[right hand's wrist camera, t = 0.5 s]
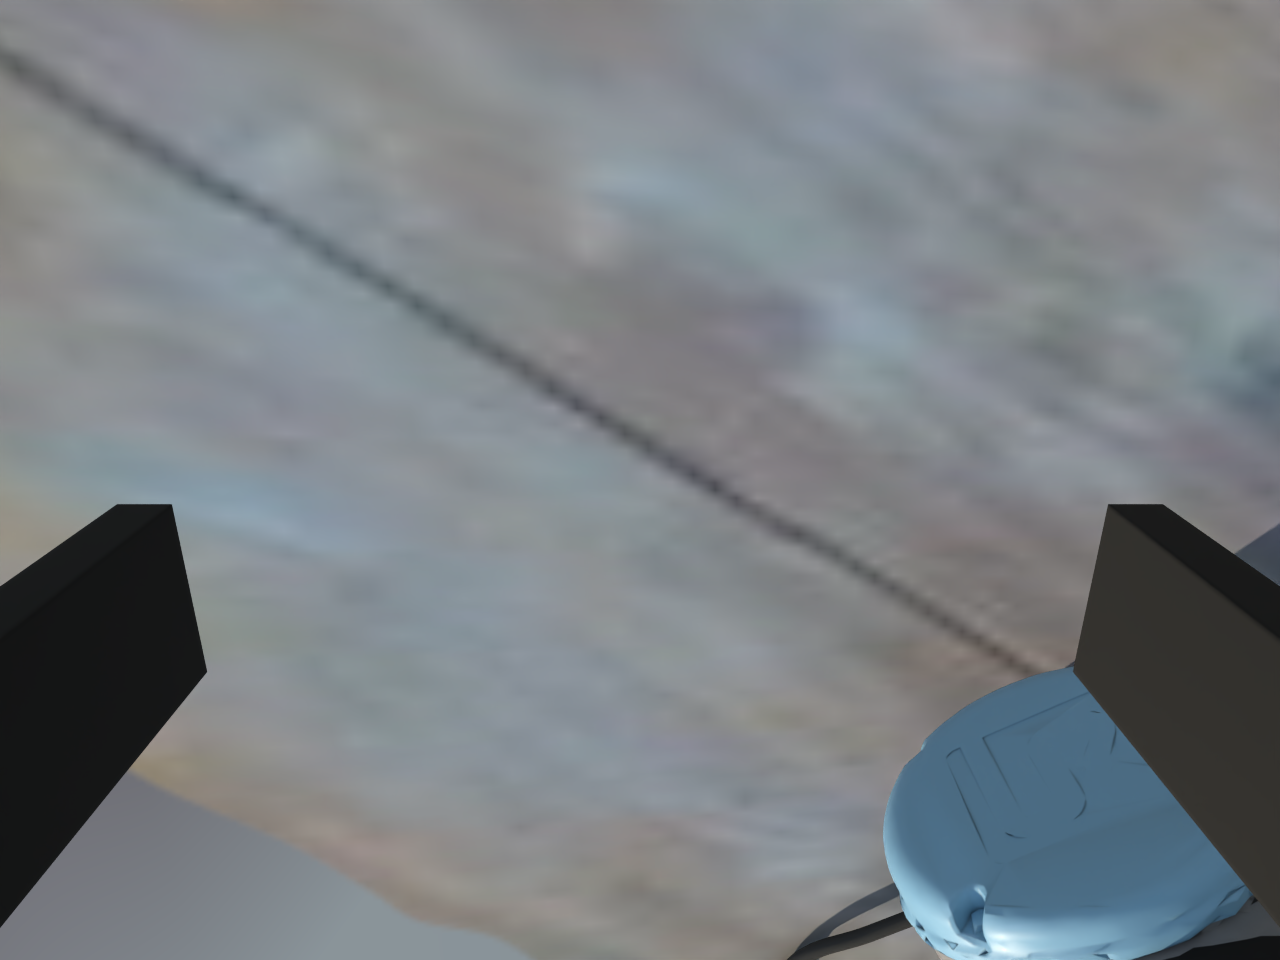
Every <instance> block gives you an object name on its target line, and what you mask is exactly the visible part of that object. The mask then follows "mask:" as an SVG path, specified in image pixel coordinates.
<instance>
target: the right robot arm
mask: <svg viewBox="0 0 1280 960" xmlns="http://www.w3.org/2000/svg"><path fill="white" fill-rule="evenodd" d="M206 673H207V669H206V664H205V659H204V655H203V650H202V645H201V640H200V636H199V631H198V626H197V621H196V617H195V612H194V607H193V603H192V598H191V593H190V588H189V584H188V579H187V574H186V569H185V565H184V560H183V555H182V551H181V546H180V541H179V536H178V532H177V527H176V522H175V517H174V513H173V508H172V504H117V505H115V506H114V507H113V508H111V509H110V510H108V511H107V512H105V513H104V514H103V515H101V516H100V517H98V518H97V519H96V520H94V521H93V522H91V523H90V524H88V525H87V526H86V527H84V528H83V529H81V530H80V531H78V532H77V533H76V534H74V535H73V536H71V537H70V538H69V539H67V540H66V541H64V542H63V543H61V544H60V545H59V546H57V547H56V548H54V549H53V550H51V551H50V552H49V553H47V554H46V555H44V556H43V557H42V558H40V559H39V560H37V561H36V562H34V563H33V564H32V565H30V566H29V567H27V568H26V569H24V570H23V571H22V572H20V573H19V574H17V575H16V576H14V577H13V578H12V579H10V580H9V581H7V582H6V583H5V584H3V585H2V586H0V927H1V926H2V925H3V924H4V922H5V921H6V920H7V919H8V917H9V916H10V915H11V914H12V913H13V911H14V910H15V909H16V908H17V906H18V905H19V904H20V903H21V901H22V900H23V899H24V898H25V896H26V895H27V894H28V893H29V891H30V890H31V889H32V888H33V886H34V885H35V884H36V883H37V882H38V880H39V879H40V878H41V877H42V875H43V874H44V873H45V872H46V870H47V869H48V868H49V867H50V866H51V864H52V863H53V862H54V861H55V859H56V858H57V857H58V856H59V854H60V853H61V852H62V851H63V849H64V848H65V847H66V846H67V844H68V843H69V842H70V841H71V840H72V838H73V837H74V836H75V835H76V833H77V832H78V831H79V830H80V828H81V827H82V826H83V825H84V823H85V822H86V821H87V820H88V819H89V817H90V816H91V815H92V814H93V812H94V811H95V810H96V809H97V807H98V806H99V805H100V804H101V802H102V801H103V800H104V799H105V797H106V796H107V795H108V794H109V793H110V791H111V790H112V789H113V788H114V786H115V785H116V784H117V783H118V781H119V780H120V779H121V778H122V776H123V775H124V774H125V773H126V772H127V770H128V769H129V768H130V767H131V765H132V764H133V763H134V762H135V760H136V759H137V758H138V757H139V755H140V754H141V753H142V752H143V751H144V749H145V748H146V747H147V746H148V744H149V743H150V742H151V741H152V739H153V738H154V737H155V736H156V734H157V733H158V732H159V731H160V730H161V728H162V727H163V726H164V725H165V723H166V722H167V721H168V720H169V718H170V717H171V716H172V715H173V713H174V712H175V711H176V710H177V708H178V707H179V706H180V705H181V704H182V702H183V701H184V700H185V699H186V697H187V696H188V695H189V694H190V692H191V691H192V690H193V689H194V687H195V686H196V685H197V684H198V683H199V681H200V680H201V679H202V678H203V676H204V675H205V674H206ZM1073 673H1074V674H1075V675H1076V676H1077V678H1078V679H1079V680H1080V681H1081V683H1082V684H1083V685H1084V686H1085V687H1086V689H1087V690H1088V691H1089V692H1090V694H1091V695H1092V696H1093V697H1094V699H1095V700H1096V701H1097V702H1098V704H1099V705H1100V706H1101V707H1102V708H1103V710H1104V711H1105V712H1106V713H1107V715H1108V716H1109V717H1110V718H1111V720H1112V721H1113V722H1114V723H1115V725H1116V726H1117V727H1118V728H1119V730H1120V731H1121V732H1122V733H1123V734H1124V736H1125V737H1126V738H1127V739H1128V741H1129V742H1130V743H1131V744H1132V746H1133V747H1134V748H1135V749H1136V751H1137V752H1138V753H1139V754H1140V755H1141V757H1142V758H1143V759H1144V760H1145V762H1146V763H1147V764H1148V765H1149V767H1150V768H1151V769H1152V770H1153V772H1154V773H1155V774H1156V775H1157V776H1158V778H1159V779H1160V780H1161V781H1162V783H1163V784H1164V785H1165V786H1166V788H1167V789H1168V790H1169V791H1170V793H1171V794H1172V795H1173V796H1174V798H1175V799H1176V800H1177V801H1178V802H1179V804H1180V805H1181V806H1182V807H1183V809H1184V810H1185V811H1186V812H1187V814H1188V815H1189V816H1190V817H1191V819H1192V820H1193V821H1194V822H1195V823H1196V825H1197V826H1198V827H1199V828H1200V830H1201V831H1202V832H1203V833H1204V835H1205V836H1206V837H1207V838H1208V840H1209V841H1210V842H1211V843H1212V845H1213V846H1214V847H1215V848H1216V849H1217V851H1218V852H1219V853H1220V854H1221V856H1222V857H1223V858H1224V859H1225V861H1226V862H1227V863H1228V864H1229V866H1230V867H1231V868H1232V869H1233V870H1234V872H1235V873H1236V874H1237V875H1238V877H1239V878H1240V879H1241V880H1242V882H1243V883H1244V884H1245V885H1246V887H1247V888H1248V889H1249V890H1250V892H1251V893H1252V894H1253V895H1254V896H1255V898H1256V899H1257V900H1258V901H1259V903H1260V904H1261V905H1262V906H1263V908H1264V909H1265V910H1266V911H1267V913H1268V914H1269V915H1270V916H1271V917H1272V919H1273V920H1274V921H1275V922H1276V924H1277V925H1278V926H1279V927H1280V586H1278V585H1277V584H1275V583H1274V582H1273V581H1271V580H1270V579H1268V578H1267V577H1266V576H1264V575H1263V574H1261V573H1260V572H1258V571H1257V570H1256V569H1254V568H1253V567H1251V566H1250V565H1248V564H1247V563H1246V562H1244V561H1243V560H1241V559H1240V558H1238V557H1237V556H1236V555H1234V554H1233V553H1231V552H1230V551H1229V550H1227V549H1226V548H1224V547H1223V546H1221V545H1220V544H1219V543H1217V542H1216V541H1214V540H1213V539H1211V538H1210V537H1209V536H1207V535H1206V534H1204V533H1203V532H1202V531H1200V530H1199V529H1197V528H1196V527H1194V526H1193V525H1192V524H1190V523H1189V522H1187V521H1186V520H1184V519H1183V518H1182V517H1180V516H1179V515H1177V514H1176V513H1175V512H1173V511H1172V510H1170V509H1169V508H1167V507H1166V506H1165V505H1163V504H1108V508H1107V513H1106V517H1105V522H1104V527H1103V532H1102V536H1101V541H1100V546H1099V551H1098V555H1097V560H1096V565H1095V569H1094V574H1093V579H1092V584H1091V588H1090V593H1089V598H1088V603H1087V607H1086V612H1085V617H1084V621H1083V626H1082V631H1081V636H1080V640H1079V645H1078V650H1077V655H1076V659H1075V664H1074V669H1073Z"/></svg>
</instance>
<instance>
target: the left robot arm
mask: <svg viewBox="0 0 1280 960" xmlns="http://www.w3.org/2000/svg"><path fill="white" fill-rule="evenodd" d="M1073 669H1074V667H1068V668H1063V669H1059V670H1054V671H1049V672H1045V673H1041V674H1038V675H1034V676H1031V677H1028V678H1025V679H1023V680H1020V681H1017V682H1014V683H1012V684H1009V685H1007V686H1005V687H1002V688H1000V689H998V690H996V691H994V692H991V693H989V694H987V695H986V696H984V697H982V698H980V699H978V700H976V701H974V702H973V703H971V704H969V705H968V706H966V707H965V708H963V709H962V710H960V711H959V712H957V713H956V714H955V715H954V716H952V717H951V718H950V719H948V720H947V721H945V722H944V723H943V724H942V725H941V726H939V727H938V728H937V729H936V730H935V731H934V732H933V733H932V734H931V735H930V736H929V737H928V738H926V739H925V741H924V743H923V745H922V748H921V752H919V753H918V754H917V755H916V756H915V757H914V758H913V759H911V760H910V761H909V762H908V764H906V765H905V766H904V768H903V770H902V771H901V773H900V774H899V777H898V779H897V781H896V783H895V785H894V787H893V790H892V792H891V794H890V797H889V801H888V804H887V809H886V813H885V818H884V828H883V840H884V848H885V855H886V859H887V863H888V867H889V870H890V873H891V876H892V878H893V880H894V882H895V884H896V886H897V888H898V890H899V894H900V903H901V906H902V909H903V911H904V912H901V913H899V914H896V915H893V916H891V917H888V918H886V919H883V920H881V921H878V922H875V923H873V924H870V925H868V926H865V927H862V928H859V929H856V930H853V931H850V932H846V933H842V934H839V935H835V936H831V937H828V938H825V939H822V940H819V941H816V942H814V943H811V944H809V945H807V946H805V947H803V948H801V949H800V950H798V951H797V952H795V953H794V954H793V955H792V956H790V957H789V958H788V959H787V960H816V959H818V958H820V957H823V956H826V955H829V954H832V953H835V952H839V951H843V950H847V949H850V948H854V947H857V946H861V945H864V944H867V943H870V942H873V941H875V940H878V939H881V938H883V937H886V936H889V935H891V934H894V933H896V932H899V931H902V930H904V929H907V928H909V927H912V926H914V927H915V928H916V932H917V933H918V934H919V935H920V936H921V938H922V939H923V940H924V941H925V942H926V943H927V944H929V945H930V946H931V947H933V948H934V949H935V951H936V953H937V954H938V956H939V958H940V959H941V960H1280V927H1279V926H1278V925H1277V924H1276V922H1275V921H1274V920H1273V919H1272V917H1271V916H1270V915H1269V914H1268V913H1267V911H1266V910H1265V909H1264V908H1263V906H1262V905H1261V904H1260V903H1259V901H1258V900H1257V899H1256V898H1255V896H1254V895H1253V894H1252V893H1251V892H1250V890H1249V889H1248V888H1247V887H1246V885H1245V884H1244V883H1243V882H1242V880H1241V879H1240V878H1239V877H1238V875H1237V874H1236V873H1235V872H1234V870H1233V869H1232V868H1231V867H1230V866H1229V864H1228V863H1227V862H1226V861H1225V859H1224V858H1223V857H1222V856H1221V854H1220V853H1219V852H1218V851H1217V849H1216V848H1215V847H1214V846H1213V845H1212V843H1211V842H1210V841H1209V840H1208V838H1207V837H1206V836H1205V835H1204V833H1203V832H1202V831H1201V830H1200V828H1199V827H1198V826H1197V825H1196V823H1195V822H1194V821H1193V820H1192V819H1191V817H1190V816H1189V815H1188V814H1187V812H1186V811H1185V810H1184V809H1183V807H1182V806H1181V805H1180V804H1179V802H1178V801H1177V800H1176V799H1175V798H1174V796H1173V795H1172V794H1171V793H1170V791H1169V790H1168V789H1167V788H1166V786H1165V785H1164V784H1163V783H1162V781H1161V780H1160V779H1159V778H1158V776H1157V775H1156V774H1155V773H1154V772H1153V770H1152V769H1151V768H1150V767H1149V765H1148V764H1147V763H1146V762H1145V760H1144V759H1143V758H1142V757H1141V755H1140V754H1139V753H1138V752H1137V751H1136V749H1135V748H1134V747H1133V746H1132V744H1131V743H1130V742H1129V741H1128V739H1127V738H1126V737H1125V736H1124V734H1123V733H1122V732H1121V731H1120V730H1119V728H1118V727H1117V726H1116V725H1115V723H1114V722H1113V721H1112V720H1111V718H1110V717H1109V716H1108V715H1107V713H1106V712H1105V711H1104V710H1103V708H1102V707H1101V706H1100V705H1099V704H1098V702H1097V701H1096V700H1095V699H1094V697H1093V696H1092V695H1091V694H1090V692H1089V691H1088V690H1087V689H1086V687H1085V686H1084V685H1083V684H1082V683H1081V681H1080V680H1079V679H1078V678H1077V676H1076V675H1075V674H1074V673H1073Z"/></svg>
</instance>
